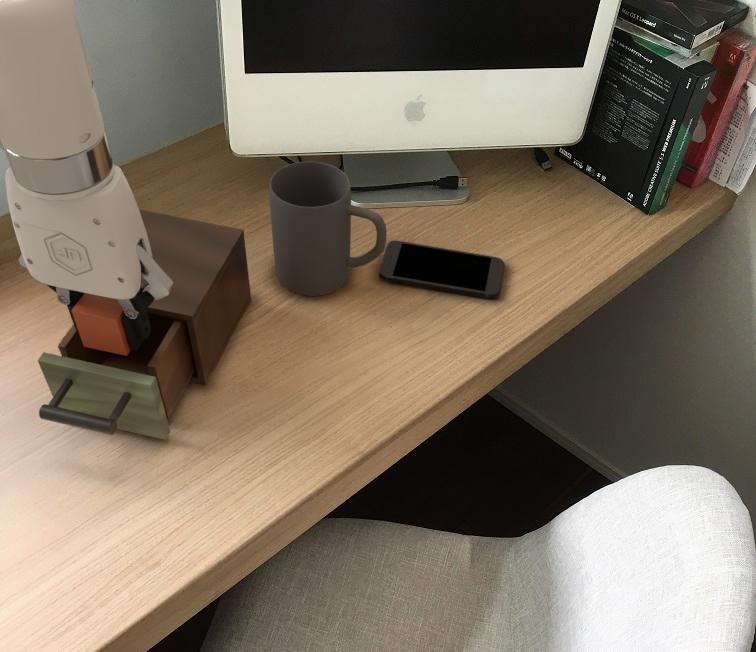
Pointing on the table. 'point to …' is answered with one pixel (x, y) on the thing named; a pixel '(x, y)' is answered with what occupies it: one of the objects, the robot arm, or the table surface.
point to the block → (101, 324)
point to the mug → (316, 228)
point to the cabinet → (200, 282)
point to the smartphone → (442, 269)
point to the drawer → (120, 381)
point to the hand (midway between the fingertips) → (114, 333)
